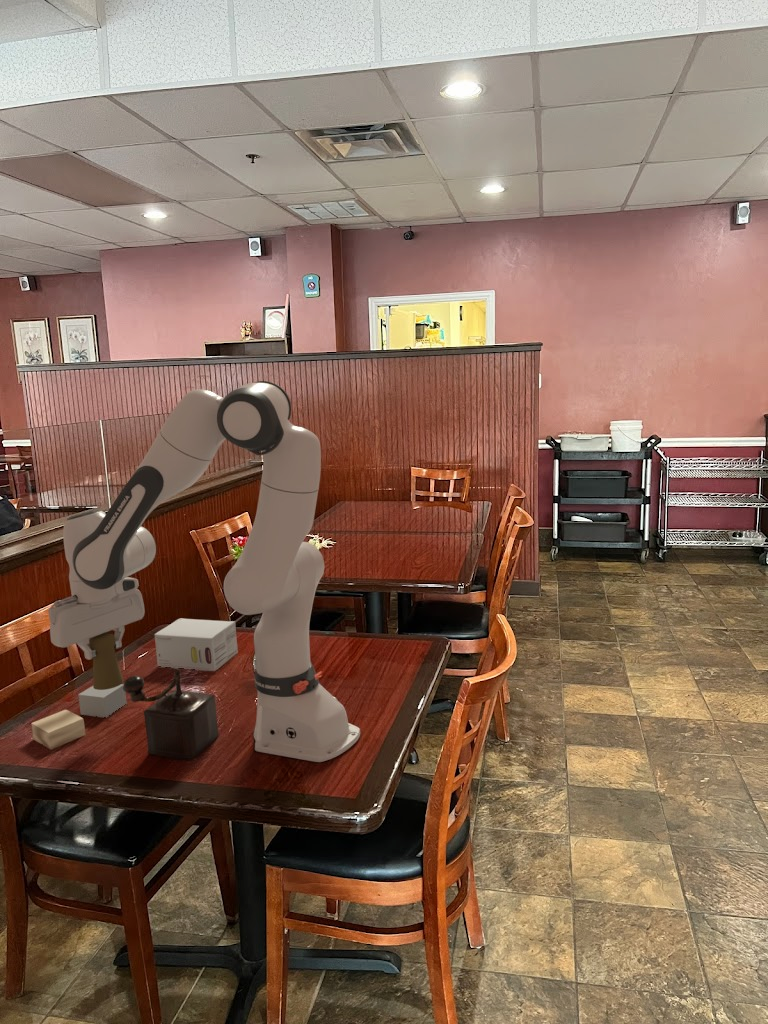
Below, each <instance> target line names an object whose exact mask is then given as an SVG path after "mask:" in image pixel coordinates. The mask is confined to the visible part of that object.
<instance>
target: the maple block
mask: <svg viewBox="0 0 768 1024" xmlns="http://www.w3.org/2000/svg"><path fill="white" fill-rule="evenodd" d="M30 725H31V729H32V731H31V732H32V736H33V737H32V738H33V740H34V741H36V742H37V743H39V744H41V745H42V744H43V746H44V747H46V748H47V749H49V750H54V749H56V748H59V747H61V746H63V745H65V744H67V743H70V742H72V741H75V740H77V739H79V738H82V737H84V736H86V728H85V721H84V718H83V717H81V716H80V715H78V714H76V713H73V712H72V711H70V710H68V709H63V710H60V711H58V712H56V713H53V714H51V715H48V716H46V717H43V718H40V719H38V720H36V721H33V722H31V724H30Z"/></svg>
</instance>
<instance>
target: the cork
mask: <svg viewBox="0 0 768 1024" xmlns="http://www.w3.org/2000/svg"><path fill="white" fill-rule="evenodd" d="M115 642H116V641H115V637H114V634H113V633H112V632H110V631H108V632H105V633H103V634H100V635H97V636H95V637H92V638H89V644H88V646H89V648H91V649H95V651H96V653H95V654H96V657H95V658H92V677H93V678H92V681H93V683H92V684H93V685H92V686H93V688H94V689H97V690H106V689H111V688H114V687H117V686H119V685H121V684H124V681H125V680H124V677H123V675H122V670H121V667H120V665H119V661H118V657H117V655H116V649H114V646H115Z"/></svg>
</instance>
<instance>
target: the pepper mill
mask: <svg viewBox="0 0 768 1024" xmlns="http://www.w3.org/2000/svg"><path fill="white" fill-rule="evenodd" d="M173 673H174V676H173V680H172V682H170V684H169V685H168V687H166V688H165V689H164V690H163V691H161V692H160V693H158V694H156V695H154V696H146V693H145V692H144V691H143V688H144V686H145V680H144V678H143V677H142V676H138V675H133V676H130V677H128V678H126V679H125V680H123V681H124V682H123V684H124V686H123V690H124V691H125V693H128V694H129V695H130V696H129V697H130V698H129V701H131V702H132V703H135V702H137V703H138V702H149V703H150V702H154V701H155V702H154V703H153V704H151V705H150V706H148V708H146V709H144V710H143V714H144V715H143V716H144V722H145V733H146V734H145V735H146V741H147V754H149V755H153V756H156V757H158V758H160V757H161V758H165V759H172V760H173V759H174V760H179V761H180V760H181V761H192V760H194V759H195V758H197V757H198V756H199V755H200V754H201V753H203V752H204V751H205V750H206V749H207V748H208V747H209V746H210V745H211V744H212V743H213V742H215V740H216V739H217V738H218V737H219V733H220V732H219V728H218V727H219V726H218V717H217V706H216V705H217V704H216V696H215V694H213V693H212V694H210V693H204V692H203V693H202V692H194V691H187V690H182V687H181V680H182V675H181V669H178V668H174V670H173ZM174 687H176V688H175V689H174ZM171 690H172V691H171Z"/></svg>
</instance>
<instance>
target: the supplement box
mask: <svg viewBox="0 0 768 1024" xmlns="http://www.w3.org/2000/svg"><path fill="white" fill-rule="evenodd" d="M236 630H237V629H236V621H235V620H234V621H233V620H232V621H230V620H215V619H214V620H212V619H197V618H196V619H195V618H194V619H193V618H182V617H181V618H178V619H176V620H174V621H173V622H171V624H169V625H167V626H165V627H164V628H162V629H160V630H159V631H157V632H156V633H154V642H155V651H156V663H157V667H158V666H161V667H160V668H165V667H171V668H170V669H177V668H184V669H183V670H191V669H195V670H194V671H205V672H206V671H207V672H215V671H218V670H219V668H221V667H222V666H223V665H225V664H226V663H227V662H228V661H230V660H231V659H232V658H233V657H234V656H235V655H236V654H238V653H239V651H238V650H239V649H238V641H237V640H238V639H237V631H236Z"/></svg>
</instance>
